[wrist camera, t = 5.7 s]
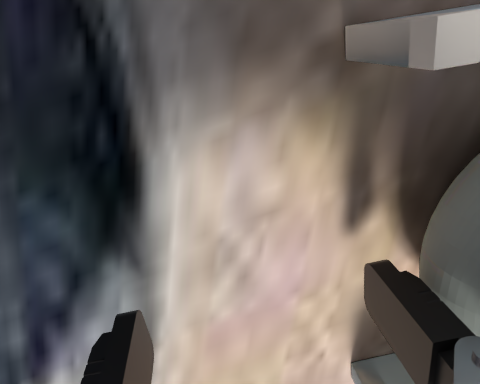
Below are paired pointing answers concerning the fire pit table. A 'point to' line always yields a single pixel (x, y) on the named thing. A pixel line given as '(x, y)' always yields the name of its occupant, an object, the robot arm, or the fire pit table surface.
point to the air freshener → (456, 248)
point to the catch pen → (421, 57)
